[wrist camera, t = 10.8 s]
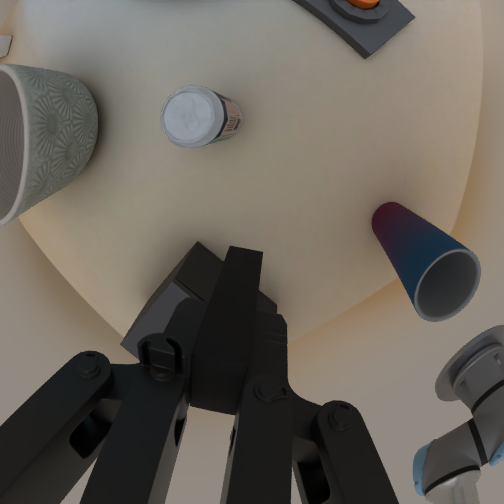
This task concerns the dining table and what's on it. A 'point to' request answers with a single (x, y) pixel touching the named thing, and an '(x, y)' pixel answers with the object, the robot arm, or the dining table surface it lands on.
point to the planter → (41, 135)
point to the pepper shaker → (4, 44)
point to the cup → (427, 262)
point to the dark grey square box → (200, 279)
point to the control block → (361, 21)
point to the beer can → (199, 117)
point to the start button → (363, 3)
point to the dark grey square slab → (157, 315)
